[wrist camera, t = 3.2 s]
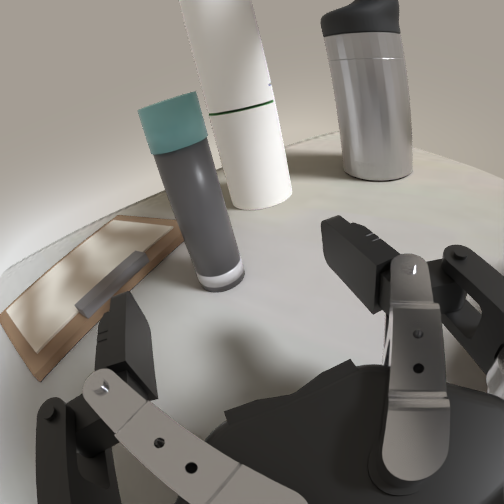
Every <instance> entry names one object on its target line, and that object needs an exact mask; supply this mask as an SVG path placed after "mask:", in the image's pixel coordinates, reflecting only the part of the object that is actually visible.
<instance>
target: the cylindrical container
mask: <svg viewBox="0 0 504 504" xmlns="http://www.w3.org/2000/svg"><path fill="white" fill-rule="evenodd" d="M179 4H180V8H181V12H182V16H183V19H184V23H185V27H186V31H187V35H188V39H189V43H190V46H191V50H192V54H193V58H194V62H195V65H196V69H197V73H198V77H199V80H200V84H201V88H202V92H203V96H204V99H205V103H206V107H207V111H208V113H209V118H210V122H211V126H212V129H213V133H214V137H215V141H216V144H217V148H218V151H219V156H220V159H221V163H222V167H223V170H224V174H225V178H226V182H227V185H228V189H229V193H230V196H231V200H232V204H233V205H234V206H235V207H236V208H239V209H243V210H258V209H264V208H269V207H272V206H275V205H277V204H280V203H282V202H283V201H285V200H286V199H288V198H289V197H290V196H291V194H292V187H291V181H290V176H289V170H288V165H287V159H286V154H285V148H284V143H283V138H282V133H281V128H280V123H279V118H278V113H277V108H276V103H275V98H274V94H273V89H272V85H268V83H271V80H270V76H269V71H268V67H267V62H266V58H265V54H264V49H263V45H262V41H261V37H260V33H259V29H258V25H257V21H256V17H255V13H254V9H253V5H252V1H251V0H179Z"/></svg>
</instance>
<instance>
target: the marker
mask: <svg viewBox="0 0 504 504" xmlns="http://www.w3.org/2000/svg"><path fill="white" fill-rule="evenodd" d="M138 114H139V117H140V120H141V123H142V127H143V130H144V133H145V136H146V139H147V142H148V145H149V148H150V151H151V154H153V155H154V158H155V161H156V164H157V167H158V170H159V173H160V176H161V179H162V181H163V184H164V187H165V190H166V193H167V196H168V199H169V201H170V204H171V207H172V210H173V212H174V215H175V218H176V220H177V223H178V226H179V229H180V231H181V234H182V236H183V239H184V242H185V244H186V247H187V249H188V252H189V255H190V257H191V260H192V262H193V265H194V267H195V272H196V274H197V276H198V279H199V281H200V283H201V285H202V287H203V288H204V289H205V290H207V291H210V292H222V291H226V290H229V289H231V288H233V287H235V286H236V285H238V284H239V283H240V282H241V281H242V279H243V278H244V275H245V271H244V265H243V262H242V258H241V255H240V253H239V250H238V247H237V243H236V240H235V236H234V233H233V229H232V226H231V222H230V219H229V215H228V212H227V208H226V205H225V201H224V198H223V194H222V190H221V187H220V183H219V180H218V176H217V173H216V169H215V166H214V162H213V159H212V155H211V151H210V147H209V144H208V140H207V136H208V134H207V130H206V127H205V123H204V119H203V116H202V112H201V109H200V105H199V101H198V98H197V94H196V92H191V93H187V94H183V95H180V96H176V97H173V98H170V99H167V100H164V101H161V102H158V103H155V104H152V105H149V106H147V107H144V108H142V109H139V110H138Z"/></svg>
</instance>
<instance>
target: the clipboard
mask: <svg viewBox="0 0 504 504" xmlns="http://www.w3.org/2000/svg"><path fill="white" fill-rule="evenodd" d="M183 241H184V239H183V236H182V234H181V231H180V229H179V226H178V223H177V220H169V219H158V218H147V217H135V216H123V215H117V216H116V217H115V218H113V219H112V220H111V221H109V222H108V223H107V224H105V225H104V226H103V227H101V228H100V229H99V230H97V231H96V232H95V233H93V234H92V235H91V236H89V237H88V238H87V239H86V240H84V241H83V242H82V243H81V244H79V245H78V246H77V247H76V248H74V249H73V250H72V251H71V252H69V253H68V254H67V255H66V256H64V257H63V258H62V259H61V260H60V261H58V262H57V263H56V264H55V265H54V266H52V267H51V268H50V269H49V270H48V271H47V272H45V273H44V274H43V275H42V276H41V277H40V278H39V279H37V280H36V281H35V282H34V283H33V284H32V285H31V286H30V287H29V288H27V289H26V290H25V291H24V292H23V293H22V294H21V295H20V296H19V297H18V298H17V299H16V300H14V301H13V302H12V303H11V304H10V305H9V306H8V307H7V308H6V309H5V310H4V311H3V312H2V313H1V314H0V323H1V325H2V327H3V328H4V330H5V332H6V334H7V335H8V337H9V339H10V340H11V342H12V344H13V345H14V347H15V349H16V350H17V352H18V353H19V355H20V356H21V358H22V359H23V361H24V362H25V364H26V365H27V367H28V368H29V370H30V371H31V373H32V374H33V376H34V377H35V378H36V379H37V380H38V381H39V382H41V381H42V379H43V378H44V377H45V376H46V375H47V374H48V373H49V372H50V371H51V370H52V369H53V368H54V367H55V366H56V364H57V363H58V362H59V361H60V360H61V359H62V358H63V357H64V356H65V355H66V354H67V353H68V352H69V351H70V350H71V349H72V348H73V347H74V346H75V345H76V344H77V343H78V342H79V340H80V339H81V338H82V337H83V336H84V335H85V334H86V333H87V332H88V331H89V330H90V329H91V328H92V327H93V326H94V325H95V324H96V323H97V322H98V321H99V320H100V319H101V318H102V316H103V314H104V313H106V312H108V311H109V310H110V300H111V297H113V296H115V295H118V294H121V293H123V292H126V291H130V290H131V289H132V288H133V287H134V286H135V285H136V284H137V283H139V282H140V281H141V280H142V279H143V278H144V277H145V276H146V275H147V274H148V273H149V272H150V271H151V270H152V269H154V268H155V267H156V266H157V265H158V264H159V263H160V262H161V261H162V260H163V259H164V258H165V257H167V256H168V255H169V254H170V253H171V252H172V251H173V250H174V249H175V248H176V247H178V246H179V245H180V244H181V243H182V242H183Z"/></svg>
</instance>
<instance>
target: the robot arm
mask: <svg viewBox="0 0 504 504" xmlns="http://www.w3.org/2000/svg"><path fill="white" fill-rule="evenodd" d="M321 28H322V32H323V36H324V41H325V46H326V51H327V56H328V60H329V66H330V71H331V77H332V82H333V89H334V94H335V101H336V108H337V115H338V122H339V129H340V138H341V147H342V156H343V165H344V170H345V172H347V173H348V174H350V175H351V176H354V177H357V178H361V179H367V180H393V179H398V178H402V177H405V176H407V175H408V174H410V173H411V172H412V126H411V110H410V98H409V88H408V79H407V71H406V64H405V58H404V51H403V46H402V39H401V35H400V28H399V3H398V0H355V1H354V2H352V3H351V4H349V5H348V6H345V7H342V8H340V9H336V10H334V11H331V12H329V13H327V14H325V15H324V16H323V17H322V18H321ZM321 232H322V242H323V252H324V257H325V260H326V262H327V264H328V265H329V267H330V268H331V269H332V270H333V271H334V272H335V273H336V274H337V275H338V276H339V277H340V279H341V280H342V281H343V282H344V283H345V284H346V285H347V286H348V287H349V288H350V289H351V291H352V292H353V293H354V294H355V295H356V296H357V297H358V298H359V299H360V301H361V302H362V303H363V304H364V305H365V306H366V307H367V308H368V310H369V311H370V312H371V313H372V314H375V313H377V312H379V311H381V310H383V311H384V312H385V313H386V314H385V327H384V344H383V357H382V364H381V365H375V364H373V365H361V366H355V365H354V363H353V362H352V360H351V359H349V360H347V361H345V362H343V363H341V364H339V365H337V366H335V367H333V368H331V369H329V370H326V371H324V372H322V373H321V374H319V375H318V376H317V377H315V378H314V379H313V380H311V381H310V382H309V383H307V384H306V385H305V386H303V387H302V388H301V389H299V390H298V391H297V392H295V393H293V394H290V395H285V396H279V397H273V398H267V399H260V400H255V401H252V402H250V403H247V404H244V405H241V406H239V407H236V408H233V409H230V410H227V411H224V413H225V416H226V419H227V421H225V422H224V423H222V424H221V425H219V426H218V427H217V428H216V429H215V430H214V431H213V432H212V433H210V435H209V436H208V437H207V438H206V440H205V441H203V440H202V439H200V438H199V437H197V436H196V435H194V434H193V433H191V432H190V431H189V430H187V429H186V428H184V427H183V426H182V425H180V424H179V423H177V422H176V421H175V420H173V419H172V418H171V417H169V416H168V415H167V414H165V413H164V412H163V411H162V410H160V409H159V408H158V407H156V406H155V405H154V404H153V403H151V402H150V401H151V400H155V399H158V394H157V387H156V379H155V370H154V361H153V351H152V340H151V331H150V327H149V324H148V322H147V320H146V318H145V316H144V314H143V313H142V311H141V309H140V308H139V306H138V304H137V303H136V301H135V299H134V297H133V296H132V294H131V293H130V292H129V291H126V292H123V293H121V294H118V295H115V296H113V297H111V300H110V310H109V312H106V313H104V314H103V316H102V318H101V320H100V322H99V326H98V335H97V346H96V358H95V372H93V373H92V374H91V375H90V376H89V377H88V378H87V379H86V381H85V383H84V385H83V391H82V392H83V393H82V394H81V395H80V396H78V397H76V398H75V399H73V400H71V401H70V402H68V403H65V402H64V401H63V400H61V399H60V398H57V397H53V398H50V399H48V400H47V401H45V402H44V403H43V404H42V406H41V407H40V409H39V411H38V415H37V427H36V485H37V500H38V504H121V499H120V494H119V489H118V484H117V479H116V473H115V467H114V461H113V454H112V446H114V445H115V444H117V443H119V442H121V444H122V445H123V446H124V447H125V448H126V449H127V450H128V451H129V452H130V453H132V454H133V455H134V456H135V457H136V458H137V459H138V460H139V461H140V462H141V463H142V464H143V465H144V466H145V467H146V468H147V469H149V470H150V471H151V472H152V473H153V474H154V475H155V476H156V477H158V478H159V479H160V480H161V481H162V482H163V483H165V484H166V485H167V486H168V487H169V488H171V489H172V490H173V491H174V492H176V493H177V494H178V495H179V496H178V498H177V500H176V502H175V504H504V276H502V275H501V274H500V273H499V272H498V271H497V270H495V269H494V268H493V267H492V266H491V265H489V264H488V263H487V262H486V261H485V260H483V259H482V258H481V257H480V256H478V255H477V254H476V253H475V252H473V251H472V250H471V249H469V248H467V247H465V246H462V245H451V246H448V247H446V248H445V250H444V252H443V258H442V259H439V260H434V261H428V262H426V261H425V260H424V259H423V258H421V257H420V256H417V255H414V254H400V253H398V252H397V251H396V250H395V249H393V248H392V247H391V246H389V245H388V244H387V243H386V242H384V241H383V240H382V239H379V237H378V236H377V235H375V234H373V233H372V232H371V231H370V230H369V229H367V228H366V227H365V226H362V225H359V224H356V223H351V224H350V223H349V222H348V221H346V220H345V219H344V218H342V217H341V216H339V215H338V216H335V217H332V218H329V219H326V220H324V221H322V222H321ZM467 293H468V294H469V295H470V296H471V297H472V298H473V299H474V300H475V301H476V302H477V303H478V304H479V305H480V307H481V310H482V315H481V314H480V313H479V312H478V311H477V310H476V309H475V308H474V307H473V306H472V305H471V304H470V303H469V302H468V301H467V300H466V296H467ZM442 323H443V324H444V326H445V327H446V328H447V329H448V330H449V331H450V332H451V333H452V335H453V336H454V337H455V338H456V339H457V340H458V342H459V343H460V344H461V345H462V346H463V347H464V349H465V350H466V351H467V352H468V353H469V355H470V356H471V357H472V358H473V359H474V361H475V362H476V363H477V364H478V365H479V367H480V368H481V369H482V370H483V372H484V373H485V374H486V375H487V377H486V382H487V386H488V391H487V393H485V392H481V391H477V390H473V389H469V388H465V387H461V386H457V385H453V384H449V383H446V370H445V353H444V341H443V330H442Z"/></svg>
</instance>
